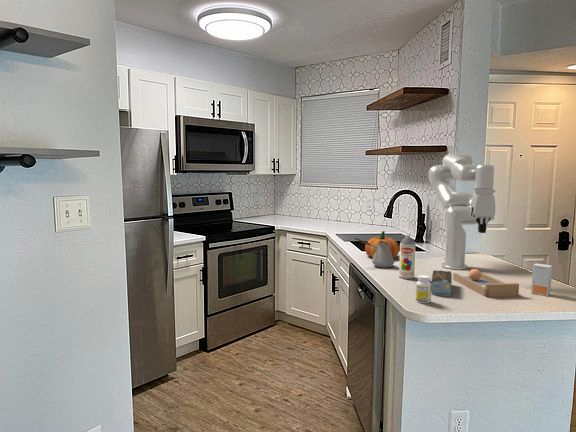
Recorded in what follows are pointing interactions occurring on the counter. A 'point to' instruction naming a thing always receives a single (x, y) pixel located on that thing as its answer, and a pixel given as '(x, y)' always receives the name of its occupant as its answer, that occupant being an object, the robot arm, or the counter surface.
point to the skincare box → (541, 279)
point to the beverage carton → (441, 283)
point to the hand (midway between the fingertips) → (481, 232)
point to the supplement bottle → (423, 289)
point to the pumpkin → (371, 250)
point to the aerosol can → (407, 258)
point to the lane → (489, 286)
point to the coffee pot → (381, 254)
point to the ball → (475, 274)
